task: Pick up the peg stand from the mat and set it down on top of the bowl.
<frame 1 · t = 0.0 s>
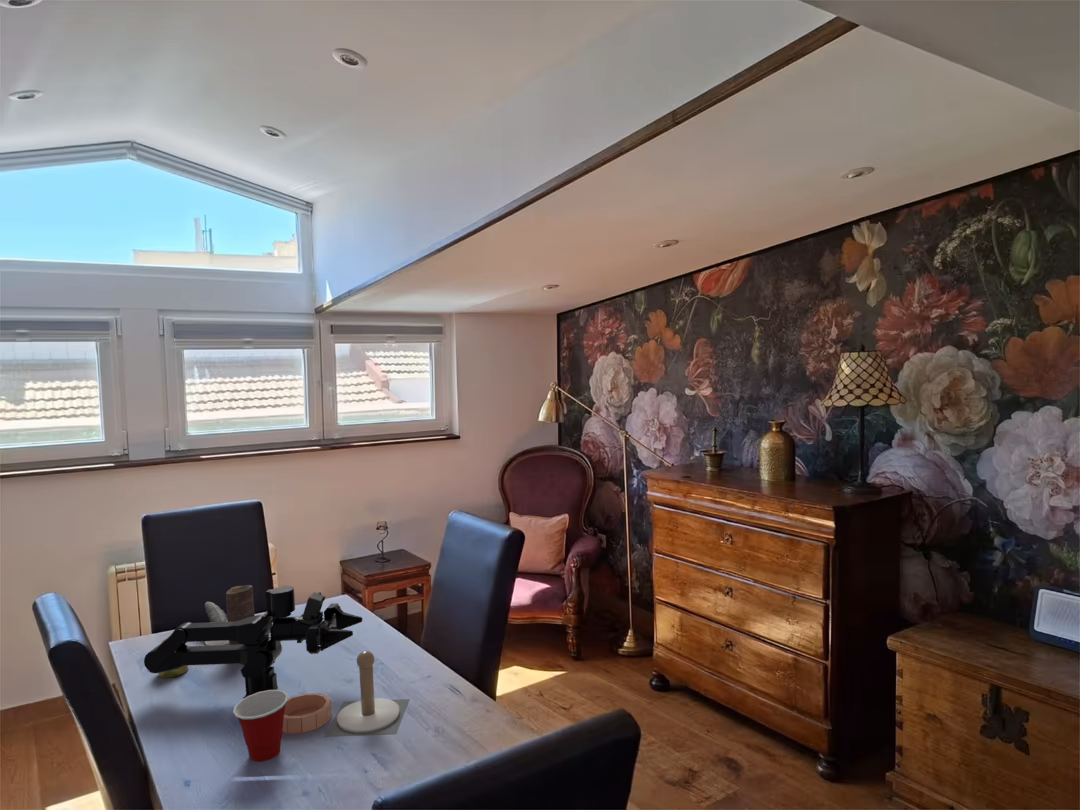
hand: (357, 626, 175), 17 cm above the table, tool horizontal, fingers open, 9 cm apart
olive green figurine: (173, 673, 191), on the table
mat: (368, 719, 161), on the table
plastic cup: (264, 757, 147), on the table
inkwell: (215, 637, 216), on the table
peg stand: (368, 716, 161), point 1 cm above the table, touching mat
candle: (243, 655, 201), on the table
bowl: (304, 721, 161), on the table
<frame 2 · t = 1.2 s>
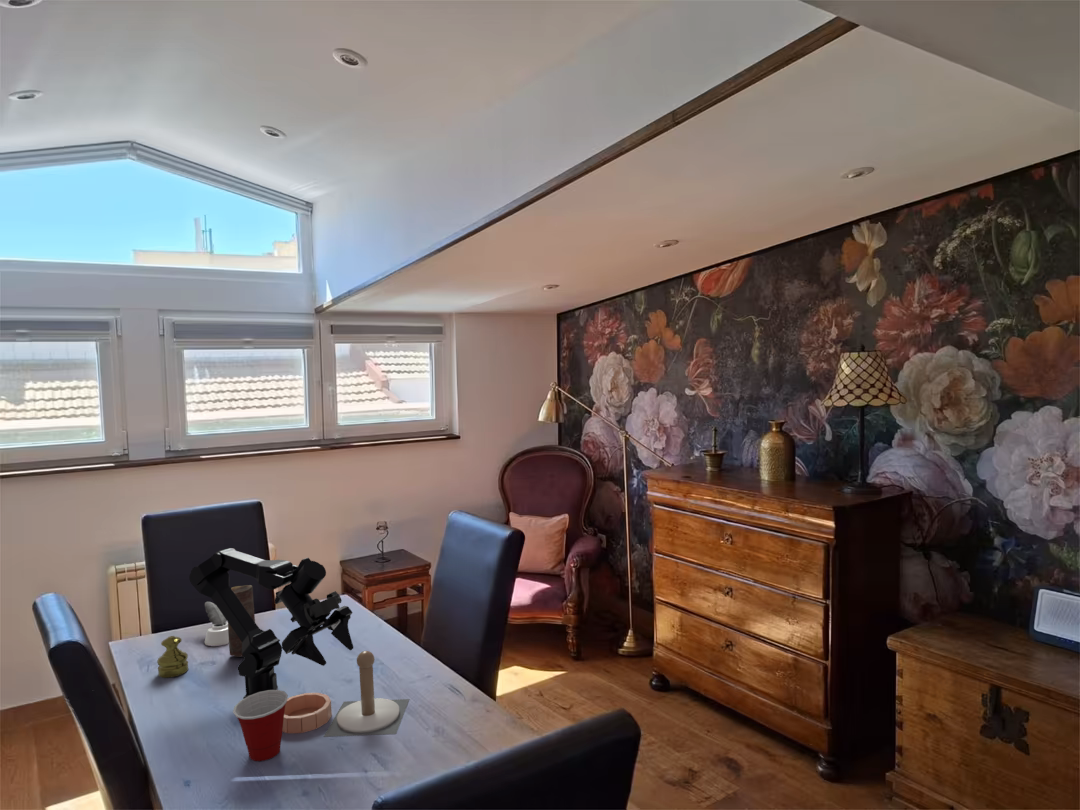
hand: (338, 656, 164), 14 cm above the table, tool tilted 45°, fingers open, 9 cm apart
nothing on the table moved.
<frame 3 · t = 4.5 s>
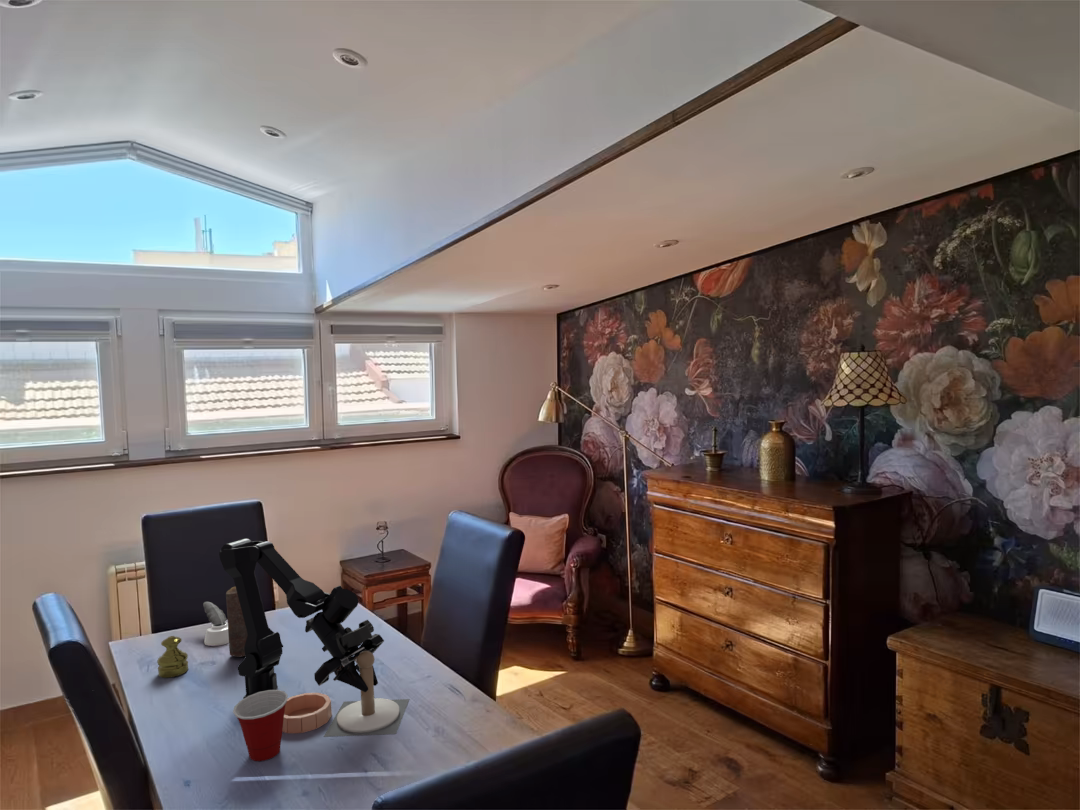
hand: (371, 687, 160), 8 cm above the table, tool tilted 45°, fingers closed on peg stand, 3 cm apart
peg stand: (368, 716, 161), point 1 cm above the table, touching gripper, mat
everything else where it was.
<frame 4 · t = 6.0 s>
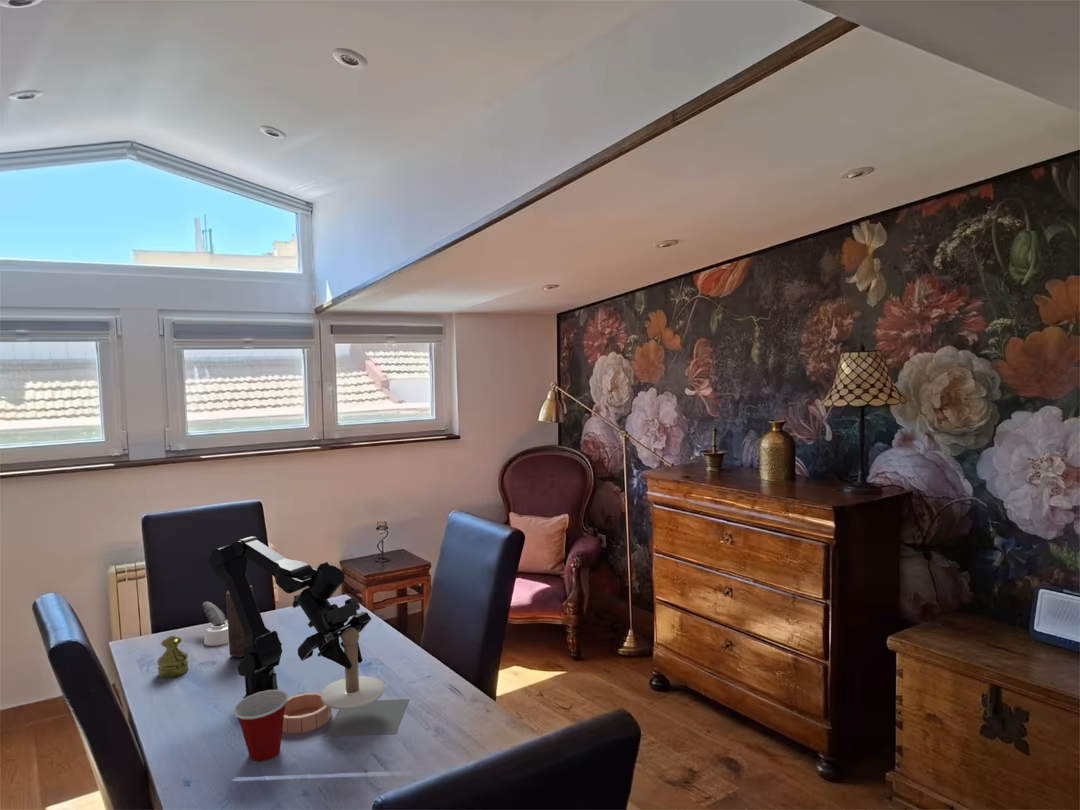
hand: (355, 665, 159), 13 cm above the table, tool tilted 45°, fingers closed on peg stand, 3 cm apart
peg stand: (352, 694, 160), point 6 cm above the table, touching gripper
everything else where it was.
when the fingers open (12 cm above the table, at t = 7.4 s): peg stand drops 1 cm, resting on bowl.
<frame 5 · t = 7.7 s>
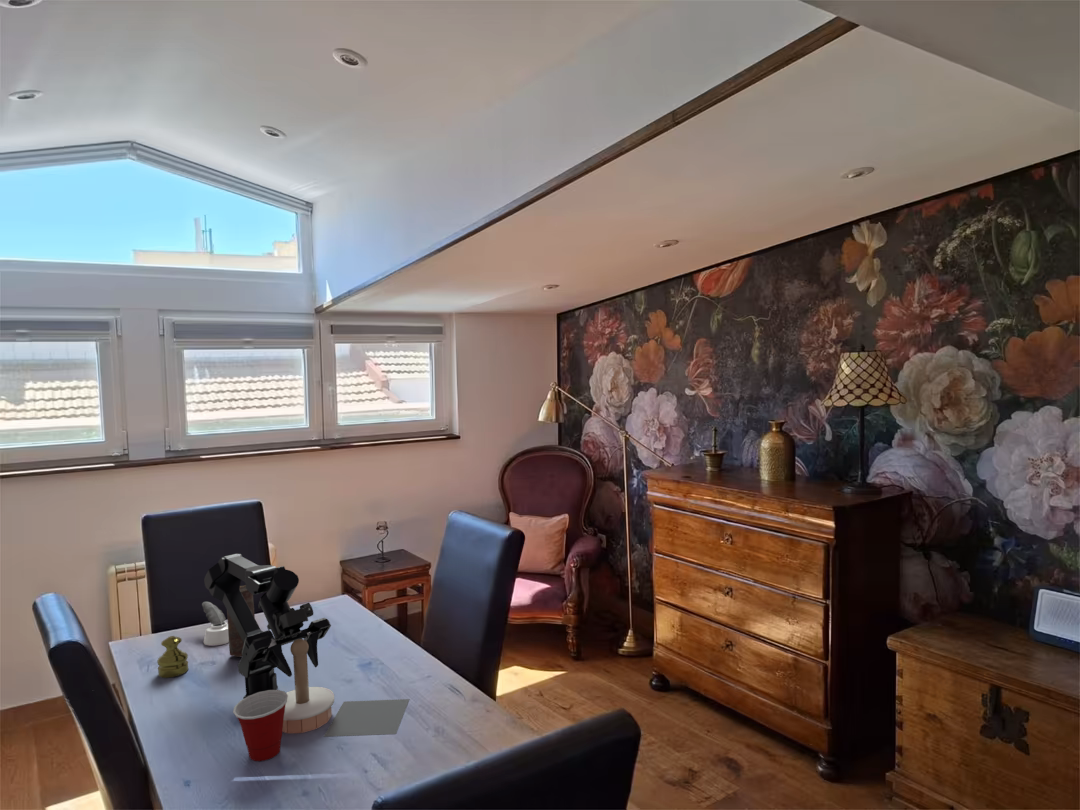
hand: (304, 671, 159), 12 cm above the table, tool tilted 45°, fingers open, 6 cm apart
peg stand: (302, 705, 161), point 4 cm above the table, touching bowl
everything else where it was.
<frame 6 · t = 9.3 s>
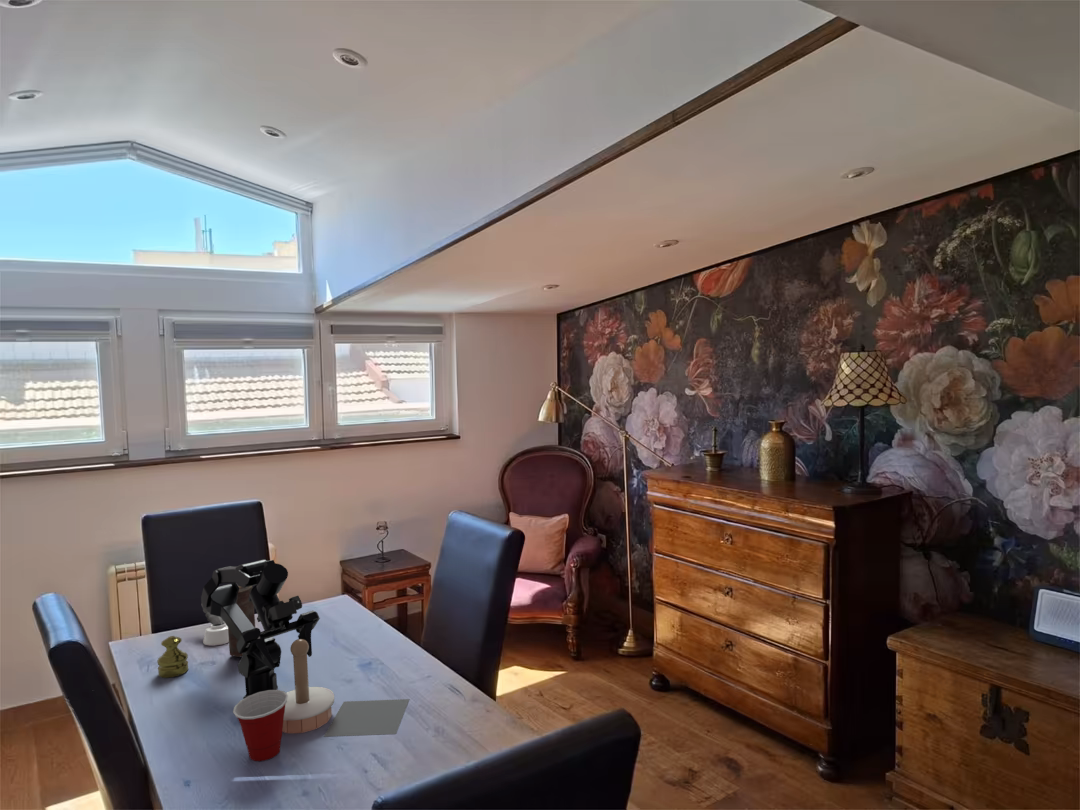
hand: (292, 662, 163), 13 cm above the table, tool tilted 45°, fingers open, 9 cm apart
nothing on the table moved.
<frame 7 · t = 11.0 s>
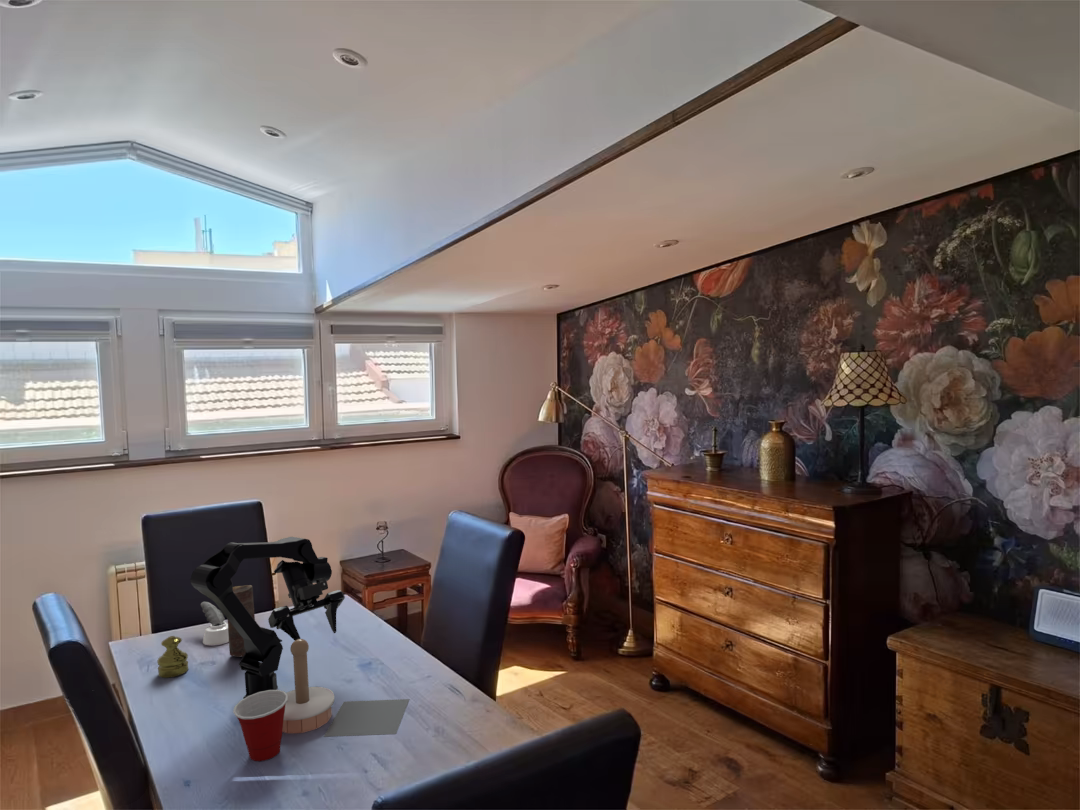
hand: (318, 638, 177), 13 cm above the table, tool tilted 40°, fingers open, 9 cm apart
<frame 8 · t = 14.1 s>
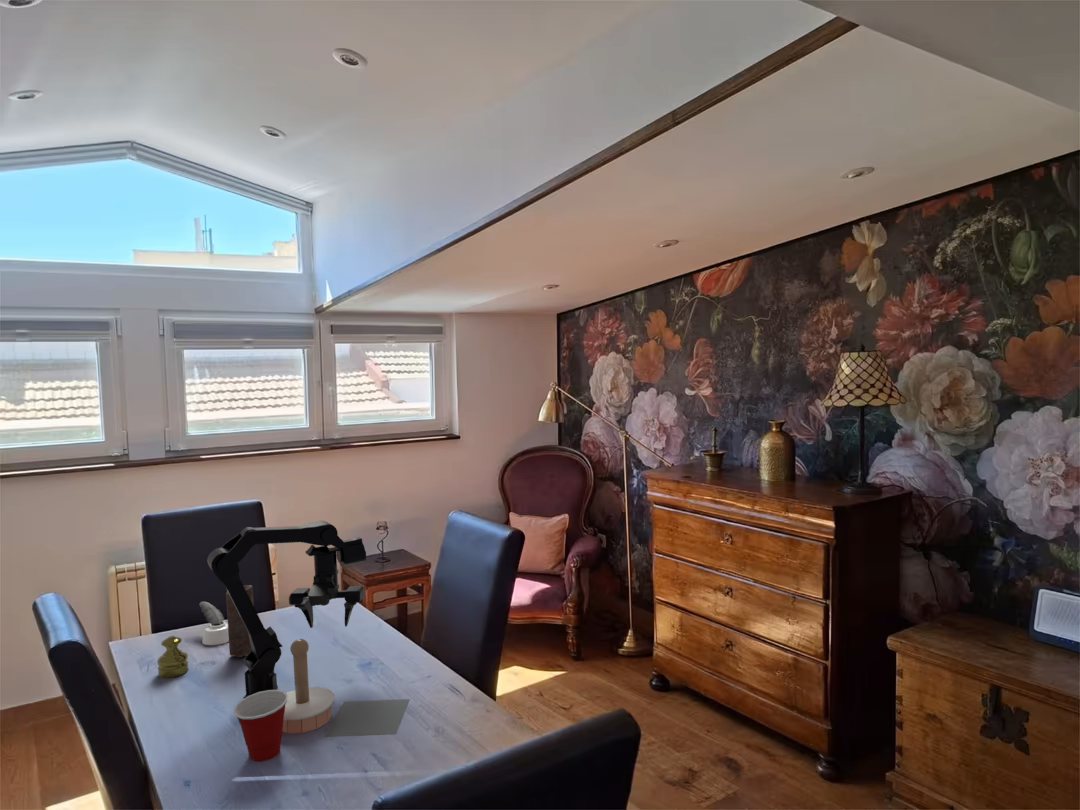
hand: (329, 626, 185), 13 cm above the table, tool pointing down, fingers open, 9 cm apart
at the end: peg stand 0.1 cm from the bowl (horizontally); peg stand point 4.0 cm above the table; peg stand tilted 0° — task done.
